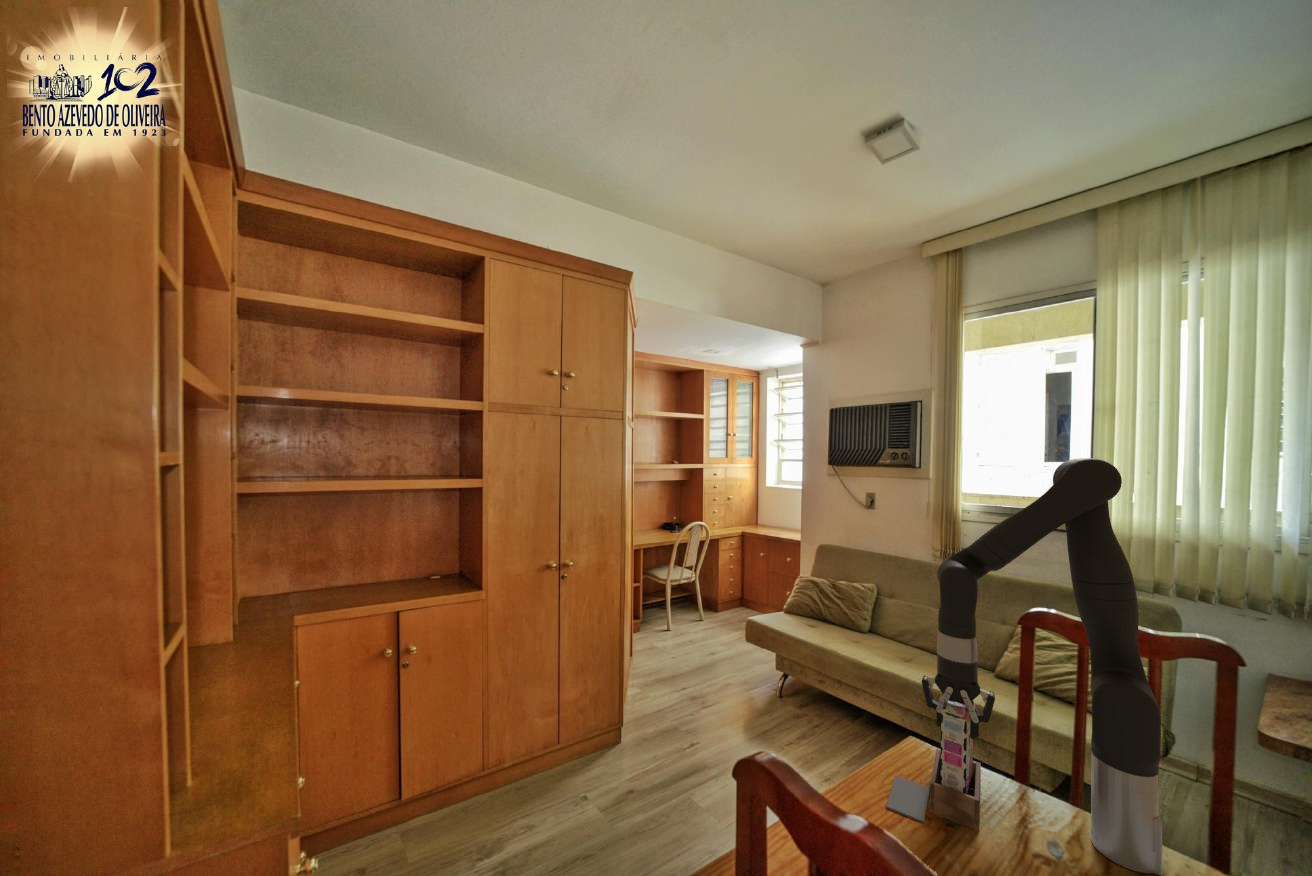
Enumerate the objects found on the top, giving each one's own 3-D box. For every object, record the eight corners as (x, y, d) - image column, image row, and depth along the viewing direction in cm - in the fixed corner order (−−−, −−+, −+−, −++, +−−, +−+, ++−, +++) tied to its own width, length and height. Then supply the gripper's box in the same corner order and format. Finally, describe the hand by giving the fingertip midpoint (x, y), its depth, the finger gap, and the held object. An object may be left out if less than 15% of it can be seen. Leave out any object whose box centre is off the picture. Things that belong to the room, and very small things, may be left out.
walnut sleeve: (980, 790, 108) (980, 763, 109) (979, 831, 96) (979, 801, 97) (936, 774, 113) (936, 748, 114) (929, 812, 101) (930, 783, 102)
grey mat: (929, 789, 108) (929, 788, 108) (923, 823, 98) (923, 821, 98) (895, 777, 112) (895, 775, 112) (886, 808, 102) (886, 806, 102)
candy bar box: (967, 801, 99) (967, 720, 99) (939, 790, 102) (939, 711, 103) (974, 774, 108) (973, 699, 108) (948, 764, 111) (948, 691, 111)
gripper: (996, 656, 105) (997, 736, 104) (921, 641, 113) (921, 715, 112) (997, 669, 99) (998, 754, 98) (917, 651, 107) (918, 730, 106)
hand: (957, 732), depth 105 cm, fingers closed on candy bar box, 5 cm apart
